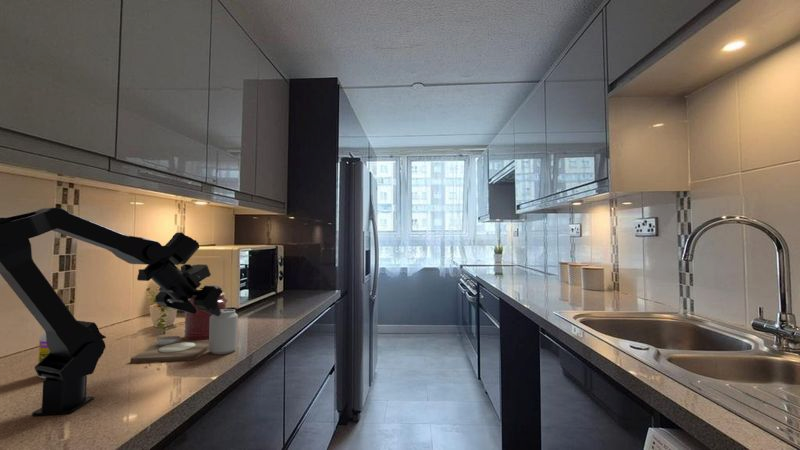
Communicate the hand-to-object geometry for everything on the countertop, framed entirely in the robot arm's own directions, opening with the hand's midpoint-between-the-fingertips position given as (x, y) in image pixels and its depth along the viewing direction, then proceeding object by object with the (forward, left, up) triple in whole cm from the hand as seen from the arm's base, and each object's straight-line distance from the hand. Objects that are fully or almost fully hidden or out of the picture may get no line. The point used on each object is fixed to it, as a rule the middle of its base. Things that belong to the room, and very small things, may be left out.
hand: (207, 313), depth 99 cm
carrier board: (+6, +10, -12) cm, 17 cm away
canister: (+24, +9, -12) cm, 28 cm away
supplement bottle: (-8, +31, -12) cm, 34 cm away
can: (+5, -3, -12) cm, 14 cm away
